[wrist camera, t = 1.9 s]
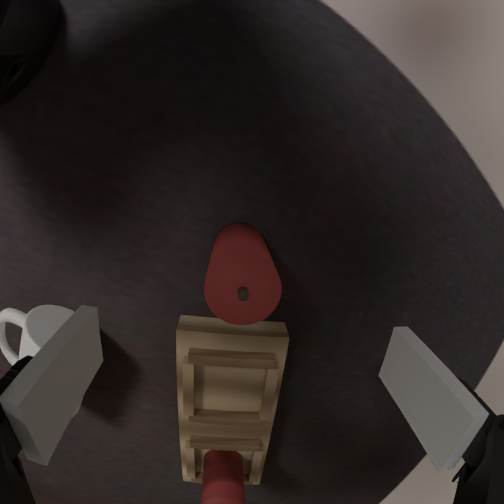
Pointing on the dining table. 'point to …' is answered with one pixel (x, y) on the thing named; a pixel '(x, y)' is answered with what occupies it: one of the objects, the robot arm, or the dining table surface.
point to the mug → (33, 330)
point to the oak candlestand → (227, 401)
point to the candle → (241, 276)
